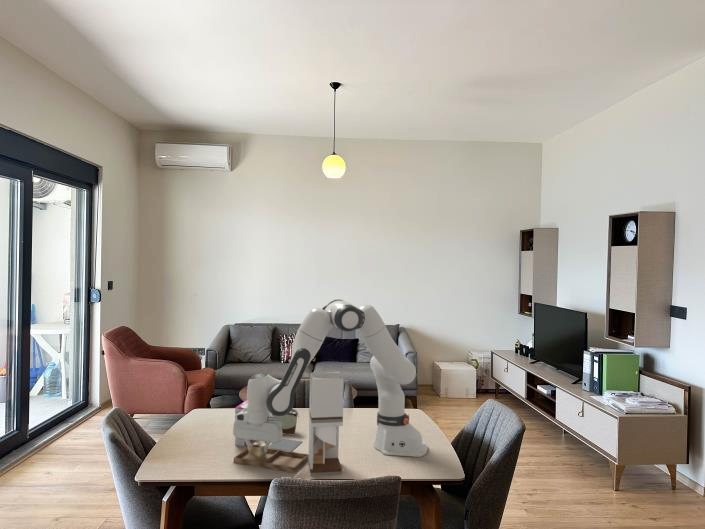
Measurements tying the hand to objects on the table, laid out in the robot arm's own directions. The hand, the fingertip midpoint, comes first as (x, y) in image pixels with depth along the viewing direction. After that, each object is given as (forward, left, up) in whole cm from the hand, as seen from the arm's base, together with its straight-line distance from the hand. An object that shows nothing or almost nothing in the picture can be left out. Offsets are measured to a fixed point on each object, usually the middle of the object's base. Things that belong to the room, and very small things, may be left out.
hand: (257, 450), depth 176 cm
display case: (-28, -1, -4) cm, 28 cm away
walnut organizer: (-6, 0, -3) cm, 7 cm away
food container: (+3, -31, -4) cm, 31 cm away
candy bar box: (+14, -14, -4) cm, 20 cm away
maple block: (0, 0, -3) cm, 3 cm away
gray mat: (-4, -15, -3) cm, 16 cm away
